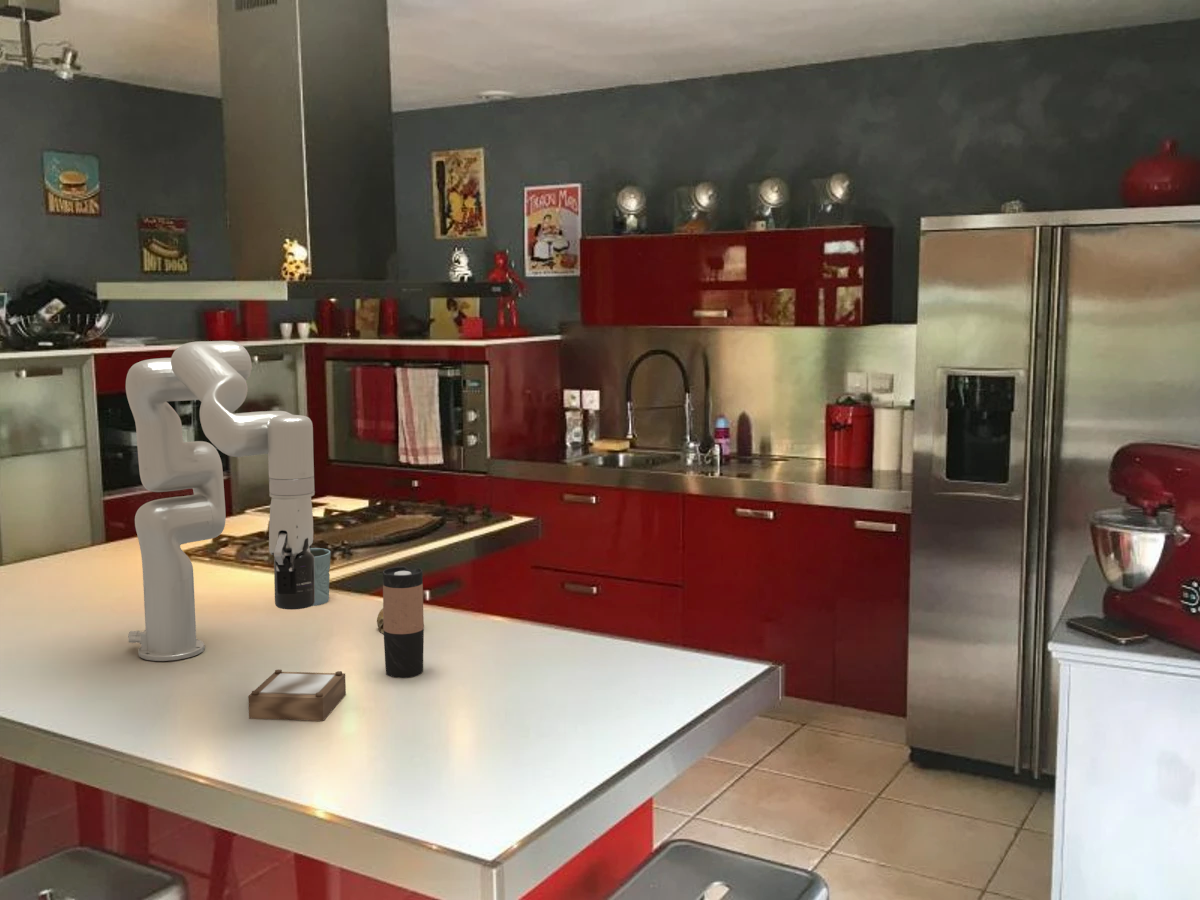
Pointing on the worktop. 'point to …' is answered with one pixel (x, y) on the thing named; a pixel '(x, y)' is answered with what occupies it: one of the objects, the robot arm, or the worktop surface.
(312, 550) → the drinking glass
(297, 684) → the walnut base block
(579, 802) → the worktop surface
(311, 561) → the supplement bottle
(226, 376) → the robot arm
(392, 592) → the travel mug
